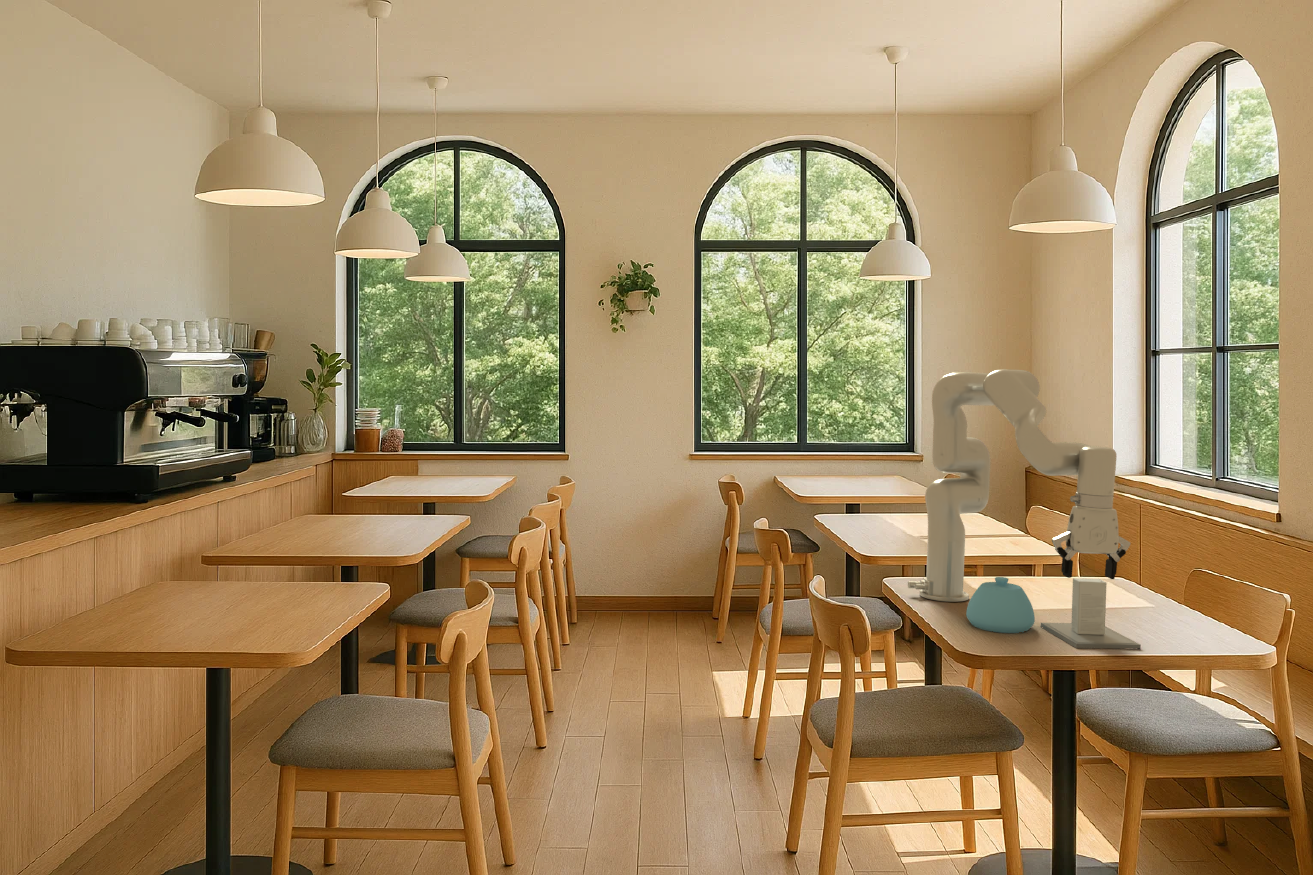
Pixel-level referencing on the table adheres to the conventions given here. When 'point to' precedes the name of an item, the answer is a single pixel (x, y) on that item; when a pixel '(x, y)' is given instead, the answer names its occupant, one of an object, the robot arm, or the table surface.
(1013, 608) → the sugar bowl
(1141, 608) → the table surface
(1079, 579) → the skincare box
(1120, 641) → the slate board
